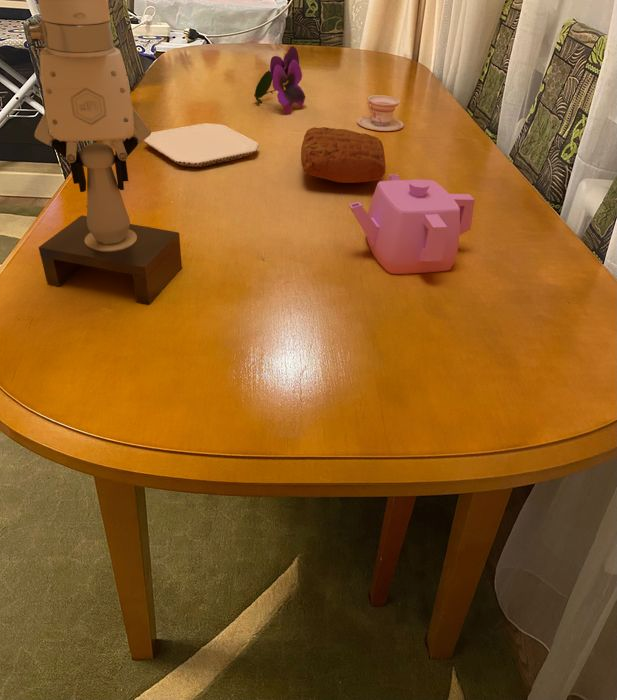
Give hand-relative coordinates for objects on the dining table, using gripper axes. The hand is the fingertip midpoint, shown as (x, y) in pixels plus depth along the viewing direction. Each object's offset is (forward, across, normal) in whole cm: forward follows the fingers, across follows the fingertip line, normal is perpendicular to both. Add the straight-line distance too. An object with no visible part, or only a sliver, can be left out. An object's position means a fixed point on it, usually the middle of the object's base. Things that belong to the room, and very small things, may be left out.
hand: (102, 185), depth 81 cm
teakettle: (+14, +46, 0) cm, 48 cm away
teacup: (+14, +67, +66) cm, 95 cm away
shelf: (+14, 0, 0) cm, 14 cm away
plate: (+14, +19, +51) cm, 57 cm away
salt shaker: (+8, 0, 0) cm, 8 cm away
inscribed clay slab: (+14, +46, +34) cm, 59 cm away
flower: (+14, +43, +83) cm, 94 cm away
